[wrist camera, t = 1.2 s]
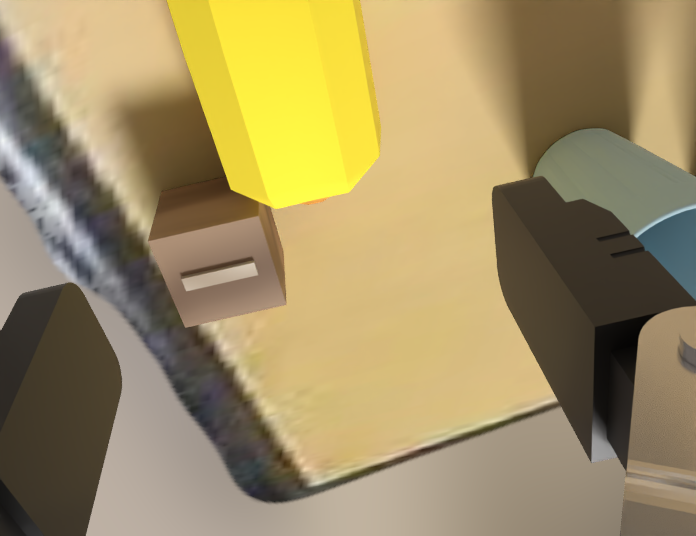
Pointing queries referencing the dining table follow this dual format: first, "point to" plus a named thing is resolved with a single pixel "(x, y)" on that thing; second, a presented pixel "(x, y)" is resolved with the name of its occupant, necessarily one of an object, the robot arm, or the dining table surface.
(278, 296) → the walnut numbered block
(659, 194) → the cup
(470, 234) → the dining table surface
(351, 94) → the yellow banana
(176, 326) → the dining table surface
